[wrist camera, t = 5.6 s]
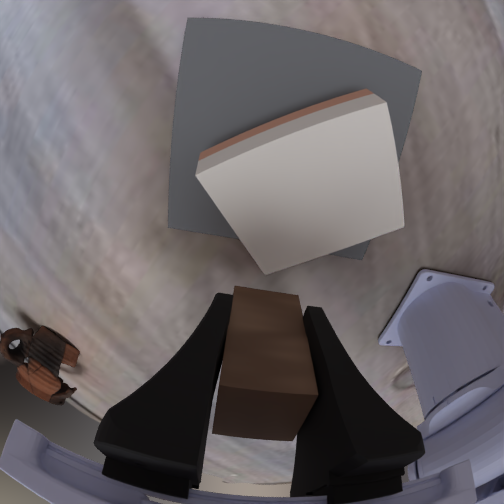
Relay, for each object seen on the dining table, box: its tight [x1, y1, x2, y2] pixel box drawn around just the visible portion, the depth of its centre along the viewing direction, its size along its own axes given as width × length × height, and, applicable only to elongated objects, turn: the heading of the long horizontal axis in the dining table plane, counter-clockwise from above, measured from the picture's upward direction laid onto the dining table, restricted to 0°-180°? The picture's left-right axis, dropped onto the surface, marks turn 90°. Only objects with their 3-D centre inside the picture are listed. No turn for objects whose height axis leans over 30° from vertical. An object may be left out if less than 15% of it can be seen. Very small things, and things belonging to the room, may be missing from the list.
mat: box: [168, 18, 422, 260], centre depth 14 cm, size 12×12×1 cm
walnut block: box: [212, 286, 318, 441], centre depth 11 cm, size 3×3×6 cm
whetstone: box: [195, 88, 404, 275], centre depth 13 cm, size 8×2×7 cm
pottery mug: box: [0, 326, 79, 405], centre depth 25 cm, size 12×10×8 cm
